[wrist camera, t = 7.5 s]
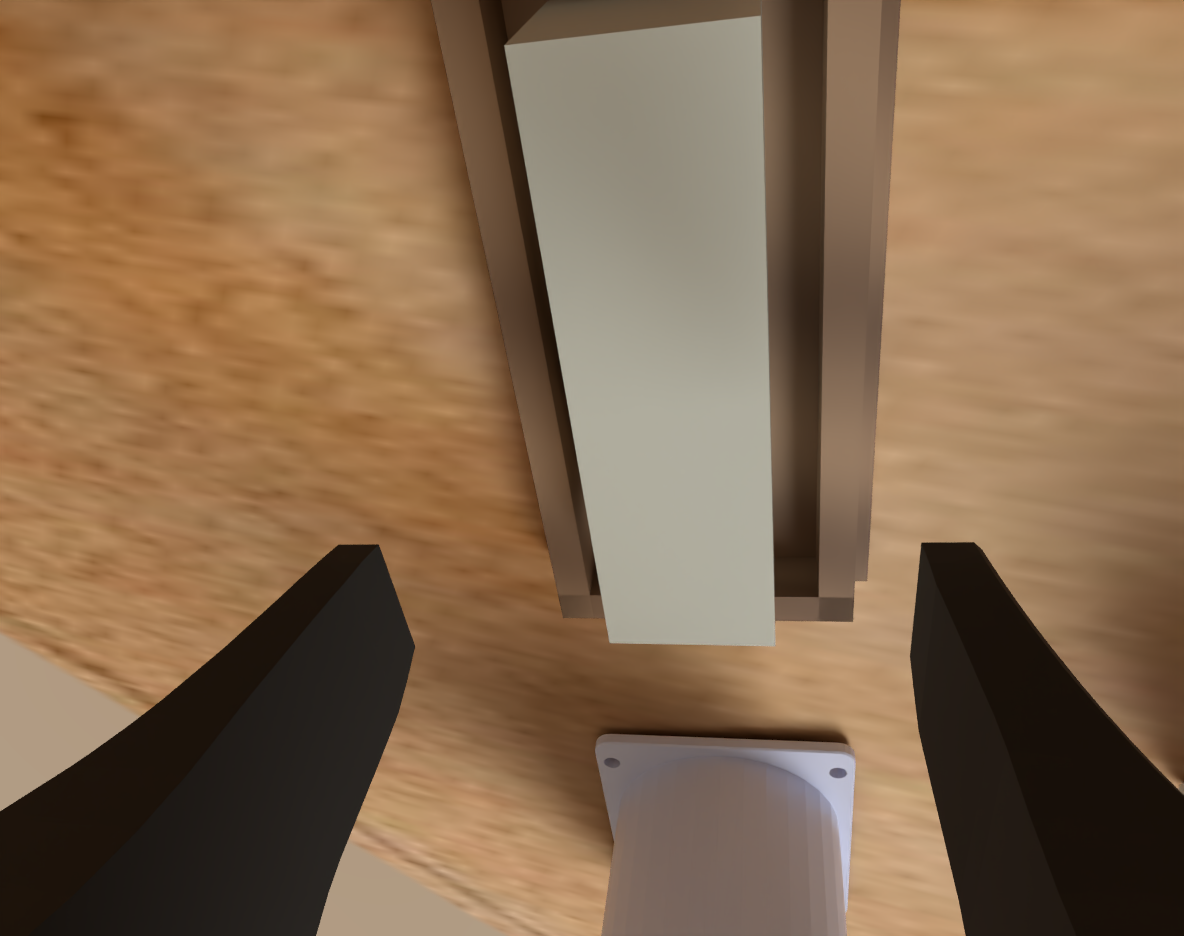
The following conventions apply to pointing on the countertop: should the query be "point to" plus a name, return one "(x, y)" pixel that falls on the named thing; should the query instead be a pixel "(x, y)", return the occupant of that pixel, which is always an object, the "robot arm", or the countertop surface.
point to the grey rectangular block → (659, 300)
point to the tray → (795, 283)
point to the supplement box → (1181, 788)
